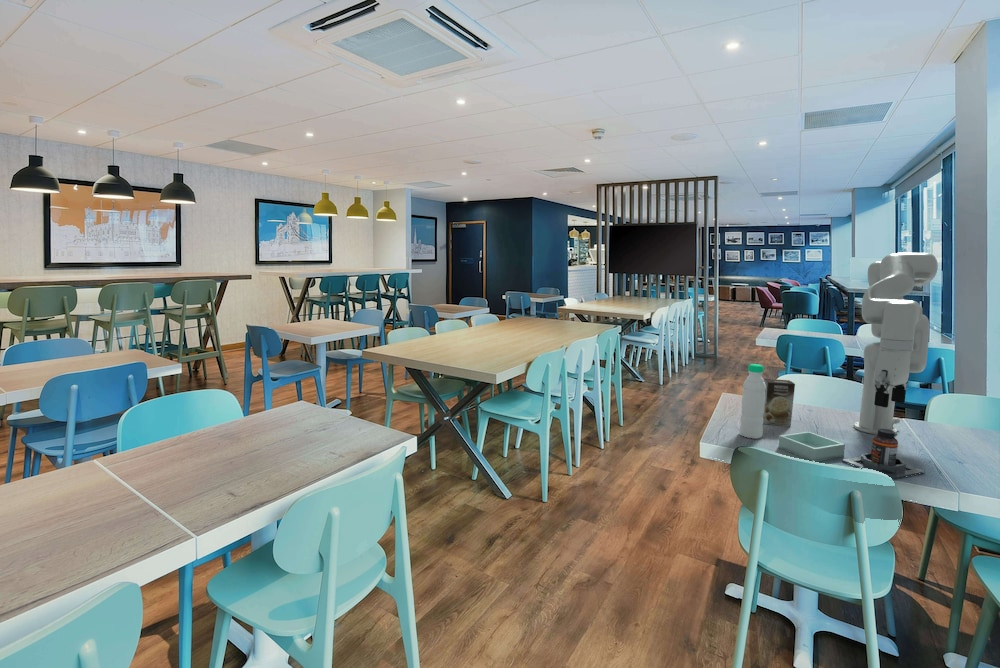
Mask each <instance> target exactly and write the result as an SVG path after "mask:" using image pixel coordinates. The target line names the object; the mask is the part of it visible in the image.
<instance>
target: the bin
mask: <svg viewBox="0 0 1000 668" xmlns="http://www.w3.org/2000/svg"><path fill="white" fill-rule="evenodd" d="M778 438H779V439H778V448H779V449H781V450H784V451H786V452H789V453H791V454H793V455H796V456H798V457H800V458H804V459H806V460H808V459H809V461H810V460H814V461H816V462H820V461H821V462H822V461H827V460H833V459H838V458H844V457H845V449H846V447H845V446H846V443H842V442H841V441H836V440H833V439H831V438H829V437H825V436H822V435H820V434H817V433H814V432H811V431H803V432H802V431H801V432H797V433H789V434H781V435H779V437H778Z"/></svg>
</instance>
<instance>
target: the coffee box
mask: <svg viewBox="0 0 1000 668" xmlns="http://www.w3.org/2000/svg"><path fill="white" fill-rule="evenodd" d="M763 379H764V382H765V385H766V390H765V406H764V414H763V425H768V424H771V426H780V425H781V426H782V427H791V426H792V418H793V407H794V397H795V389H796V384H795V383H794V382H793V381H791V380H790V379H789V380H787V379H775V378H763Z"/></svg>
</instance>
